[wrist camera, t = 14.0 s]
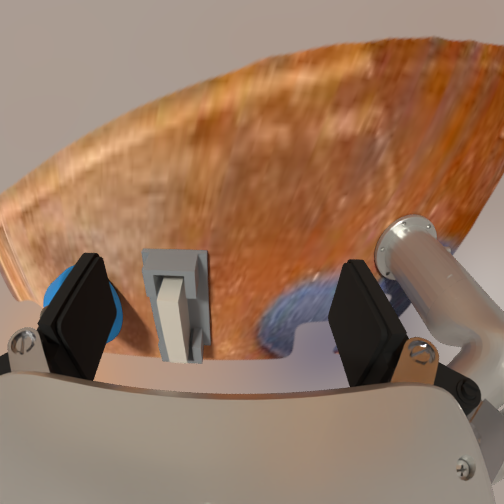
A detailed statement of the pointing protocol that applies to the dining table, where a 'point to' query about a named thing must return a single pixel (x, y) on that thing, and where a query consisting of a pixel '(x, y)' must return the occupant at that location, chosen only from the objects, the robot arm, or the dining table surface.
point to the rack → (196, 290)
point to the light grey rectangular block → (174, 318)
